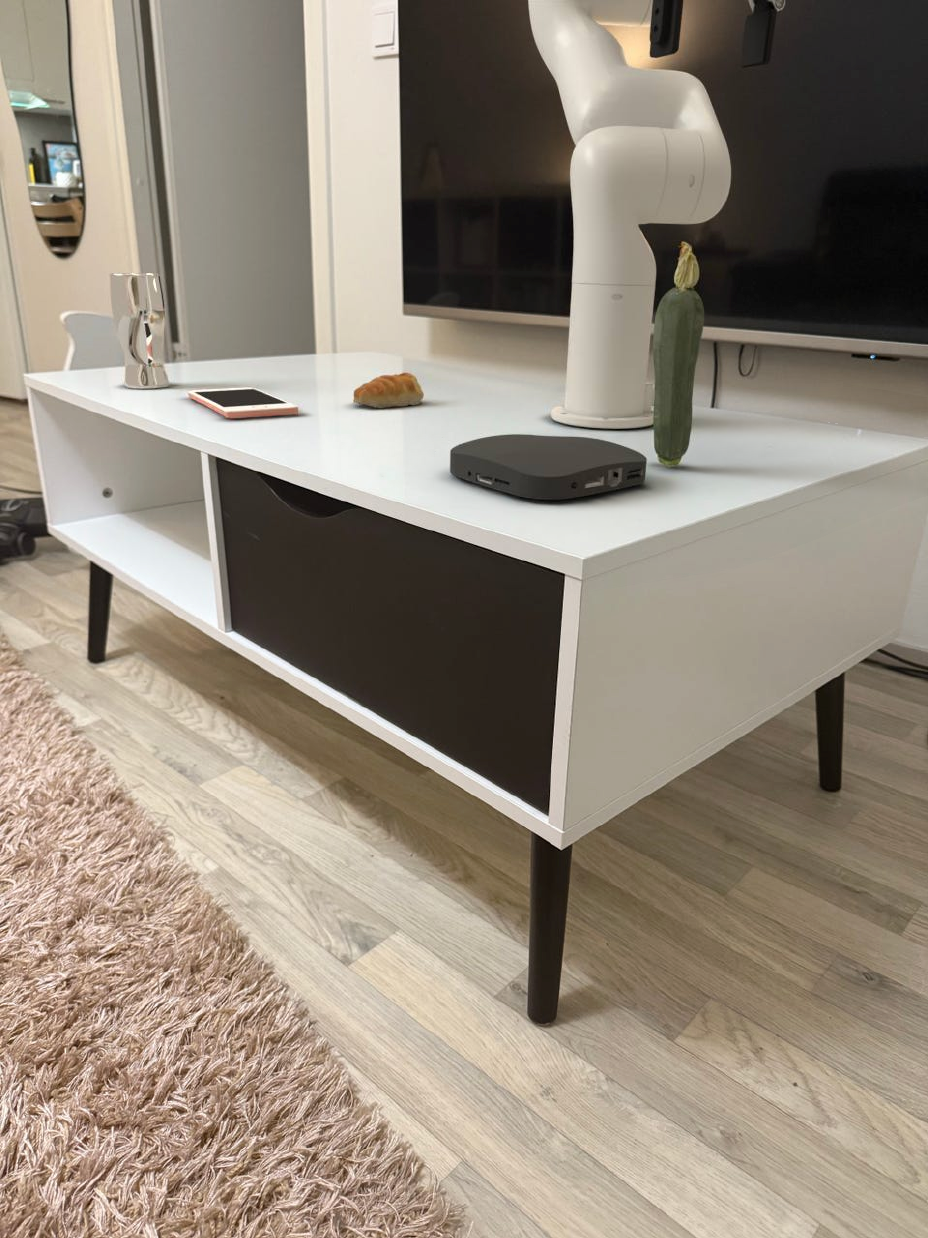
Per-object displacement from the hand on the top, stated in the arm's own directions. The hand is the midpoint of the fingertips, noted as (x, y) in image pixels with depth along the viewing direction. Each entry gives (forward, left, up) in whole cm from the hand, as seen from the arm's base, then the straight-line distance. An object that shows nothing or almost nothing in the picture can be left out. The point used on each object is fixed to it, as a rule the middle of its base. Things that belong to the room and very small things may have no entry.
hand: (709, 60), depth 77 cm
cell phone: (+32, -45, -34) cm, 65 cm away
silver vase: (+41, -67, -35) cm, 86 cm away
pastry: (+14, -41, -35) cm, 55 cm away
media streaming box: (+16, +3, -35) cm, 38 cm away
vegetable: (+3, +3, -35) cm, 35 cm away
